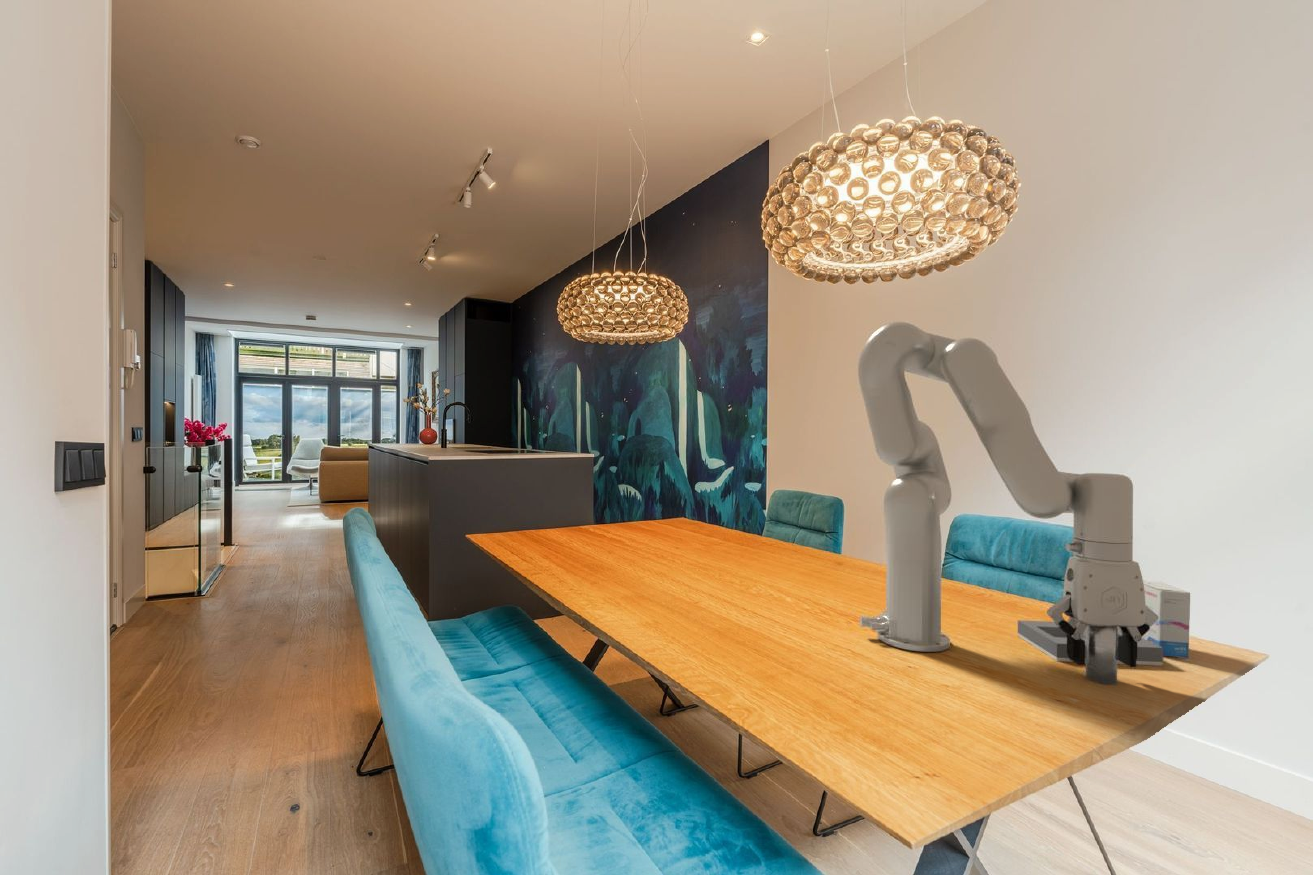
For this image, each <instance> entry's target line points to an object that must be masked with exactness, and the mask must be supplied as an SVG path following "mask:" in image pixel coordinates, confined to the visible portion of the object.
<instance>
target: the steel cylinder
mask: <svg viewBox="0 0 1313 875" xmlns="http://www.w3.org/2000/svg"><path fill="white" fill-rule="evenodd" d="M1117 639H1118V627H1114V626H1091V625H1088V626H1087V627H1086V662H1085V678H1086V679H1087V680H1089V681H1090V682H1093V683H1096V684H1101V685H1107V686H1115V685H1117V684H1118V664H1117Z"/></svg>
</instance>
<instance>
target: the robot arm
mask: <svg viewBox="0 0 1313 875" xmlns="http://www.w3.org/2000/svg"><path fill="white" fill-rule="evenodd" d="M905 372H907V373H911V374H914V375H917V376H922V377H925V378H929V379H933V380H935V381H939V382H943V383H948V385H949V387H950V389H951V391H952V392H953V394H954V395H955V397H956V398H957V400H958V402H959V404H960V405H961V407H962V408H963V410H964V411H965V414H966V415H967V418H968V419H969V421H970V422H971V424H972V426H973V428H974V429H975V431H976V433H977V436H978V438H979V440H980V441H981V444H982V446H983V447H984V448H985V449H986V451H987V454H988V457H989V458H990V460H991V462H992V463H993V466H994V468H995V470H996V471H997V473H998V475H999V476H1000V478H1001V480H1002V482H1003V483H1004V484H1005V487H1006V488H1007V490H1008V492H1009V493H1010V495H1011V496H1012V499H1013V500H1014V502H1015V503H1016V504H1017V506H1018V507H1019V508H1020V509H1021V510H1022V511H1023V512H1024V513H1026V514H1027V515H1029V516H1031V517H1033V518H1037V519H1043V520H1045V519H1046V520H1047V519H1053V518H1056V517H1059V516H1060V515H1062V514H1073V538H1072V542H1067V543H1066V544H1065V550H1066V551H1067V552H1071V553H1072V555H1073V556H1070V557H1069V558H1068V561H1067V565H1066V570H1065V573H1064V574H1065V575H1064V580H1063V582H1064V583H1063V592H1062V598H1061V599H1060V600H1058V601H1056V603H1055V604H1053V605H1052V606H1050V607H1049V608H1048V609H1047V610H1046V615H1048V616H1049V618H1050V619H1051V620H1052V622H1055V623H1056V625H1057V626H1058V627H1059V628H1060V629H1062V630H1063V632H1064V633H1065V634H1067V654H1068V657H1069V659H1070V660H1072V661H1074V662H1073V663H1075V664H1076V665H1078V666H1084V665H1086V662H1085V641H1084V640H1082V639H1081V636H1082V635H1083V633H1084V631H1085V629H1086V627H1087V626H1088V625H1091V626H1114V627H1119V629H1120V631H1121V633H1122V636H1119V637H1118V660H1119V661H1121V662H1122V663H1124V664H1123V665H1126V666H1128V667H1130V668H1136V667H1137V664H1136V660H1137V642H1140V641H1141V640H1142V636H1143V635H1144V634H1145V633H1147V632H1148V631H1149V629H1150V626H1152V625H1153V624H1154V623H1155V622H1156V621H1157V620H1158V618H1159V617H1158V615H1156V614H1155V613H1154V612H1153V611H1152V610H1151V609H1149V608H1148V607H1147V606H1146V601H1145V591H1144V584H1143V580H1144V579H1143V574H1142V570H1141V568H1140V565H1139V562H1137V561H1134V560H1133V557H1134V555H1133V553H1134V551H1133V549H1134V547H1133V546H1134V545H1133V544H1134V541H1133V540H1134V538H1133V537H1134V536H1133V535H1134V531H1133V530H1134V523H1133V522H1134V521H1133V520H1134V518H1133V516H1134V483H1133V481H1132V480H1131V478H1130V477H1129V476H1127V475H1123V474H1118V473H1101V472H1100V473H1099V472H1095V473H1094V472H1087V473H1071V472H1065V471H1059V470H1058V468H1056V466H1055V464H1054V463H1053V461H1052V459H1051V457H1050V456H1049V454H1048V453H1047V450H1045V448H1044V446H1043V445H1042V443H1041V441H1040V439H1039V437H1038V435H1037V433H1036V431H1035V428H1034V425H1033V423H1032V419H1031V414H1030V412H1029V410H1028V408H1027V406H1026V405H1025V403H1024V401H1023V400H1022V398H1021V397H1020V395H1019V393H1018V392H1017V391H1016V389H1015V388H1014V386H1013V384H1012V383H1011V381H1010V380H1009V378H1008V376H1007V375H1006V373H1005V372H1004V370H1003V368H1002V367H1001V365H1000V363H999V361H998V356H997V354H996V353H995V351H994V350H993V349H992V348H991V347H990V346H988V345H987V344H986V343H985V342H984V341H982V340H980V339H977V338H972V337H964V338H960V339H953V338H950V337H945V336H941V335H939V334H933V333H929V332H926V331H924V330H922V329H921V328H919V327H918V326H916V325H914V324H911V323H910V322H903V321H893V322H889V323H886V324H885V325H883V326H881V327H880V328H878V329H877V330H876V331H874V333H873V334H871V335H870V337H869V338H868V339H867V341H865V344H864V346H862V349H861V352H860V354H859V358H858V362H857V373H858V374H857V375H858V376H857V377H858V382H859V386H860V391H861V394H862V398H863V402H864V406H865V411H866V415H867V419H868V424H869V427H870V432H871V435H872V439H873V443H874V447H875V451H876V454H877V456H878V458H879V459H880V460H881V461H882V462H883V463H885V464H886V465H888V466H892V467H893V469H894V473H895V476H896V478H894V479H893V480H892V481H891V482H890V483H889V485H888V486H887V488H886V490H885V492H884V498H883V514H884V522H885V535H886V538H885V541H886V545H885V546H886V555H885V556H886V574H885V575H886V576H885V577H886V578H885V579H886V580H885V581H886V583H885V592H886V593H885V610H883V611H882V610H881V611H880V612H881V613H880V615H876V616H875V617H874V616H873V617H871V616H865V615H864V616H863V615H862V616H861V615H860V617H859V625H860V627H861V628H864V627H865V628H869V629H870V630H871V631H873V630H874V631H876V635H877V638H878V639H879V640H880V641H881V642H882V643H884V644H887V645H889V646H892V647H895V648H898V649H901V650H902V649H903V650H905V651H906V650H907V651H911V652H912V651H914V652H922V653H925V652H926V653H927V652H928V653H933V652H935V653H936V652H941V651H945V650H947V649H949V648H950V647H951V638H950V637H949V636H948V635H946V634H945V633H943V632H942V534H941V533H942V532H941V531H942V530H941V520H940V519H941V515H943V514H944V513H945V512H946V511H947V509H948V508H949V506H950V504H951V502H952V489H951V484H950V480H949V476H948V473H947V470H946V467H945V462H944V459H943V456H942V451H941V448H940V445H939V440H938V439H937V437H936V434H935V433H934V431H933V430H932V429H931V427H930V426H929V425H928V424H927V423H925V422H924V421H921V420H919V418H918V415H917V413H916V409H915V406H914V403H913V398H912V397H913V396H912V395H911V394H912V393H911V390H910V388H909V386H908V383H907V381H906V377H905V376H906V375H905ZM1063 614H1064V615H1065V616H1067V617H1069V618H1068V620H1067V621H1066V619H1065V618H1064V617H1063Z"/></svg>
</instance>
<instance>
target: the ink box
mask: <svg viewBox="0 0 1313 875" xmlns="http://www.w3.org/2000/svg"><path fill="white" fill-rule="evenodd" d="M1143 584H1144V591H1145V601H1146V606H1147V607H1148V608H1149V609H1151V610H1152V611H1153V612H1154V613H1155V614H1156V615H1158V617H1159V618H1158V620H1157V621H1156V622H1155V623H1154V624H1153V625H1152V626H1150V629H1149V631H1148V632H1147V633H1145V634H1144V635H1143V636H1142V638H1143V639H1145V640H1147V641H1149V642H1152V643H1154V644H1156V645H1158V646H1160V647H1162V648H1163V657H1173V658H1187V659H1188V658H1189V655H1190V654H1189V652H1190V651H1189V650H1190V649H1189V647H1190V619H1191V618H1190V614H1191V592H1190V591H1187V590H1184V589H1181V588H1178V587H1176V586H1173V585H1170V584H1167V583H1164V582H1163V581H1153V580H1144V579H1143Z"/></svg>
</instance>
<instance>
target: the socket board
mask: <svg viewBox="0 0 1313 875" xmlns="http://www.w3.org/2000/svg"><path fill="white" fill-rule="evenodd" d="M1119 636H1122V633H1121V631H1120V629H1119V627H1118V637H1119ZM1017 637H1019V638H1020V639H1022V640H1023V641H1025V642H1027V644H1030V645H1031V646H1033V647H1034V648H1036V649H1038V650H1039V651H1040V652H1042V653H1044V654H1045V655H1046V656H1048V657H1050V658H1052V659H1053V660H1055V661H1056V662H1071V663H1075V662H1074V661H1072V660H1070V659H1069V657H1068V654H1067V634H1065V633H1064V632H1063V630H1062V629H1060V628H1059V627H1058V626H1057V625H1056V623H1055V622H1054V621H1048V620H1047V621H1046V620H1043V621H1042V620H1017ZM1081 639H1082V640H1084V641H1085V663H1086V629H1085V631H1084V633H1083V635H1082V636H1081ZM1119 664H1120V665H1125V664H1124V663H1122V662H1121V661H1119V660H1118V639H1117V665H1119ZM1136 665H1142V666H1143V665H1144V666H1164V656H1163V648H1162V647H1160V646H1158V645H1156V644H1154V643H1152V642H1149V641H1147V640H1145V639H1143V638H1142V640H1141V641H1140V642H1137V660H1136Z"/></svg>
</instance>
